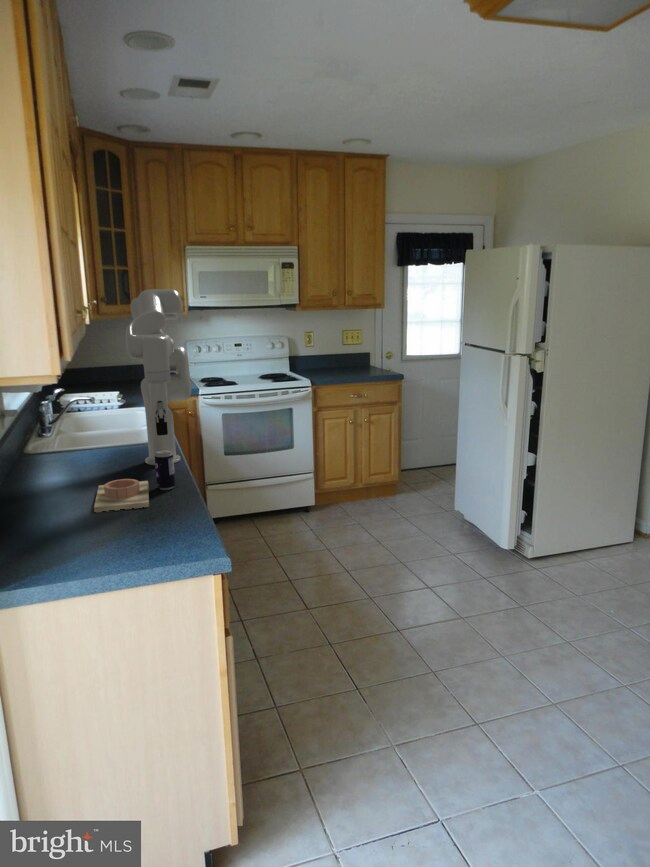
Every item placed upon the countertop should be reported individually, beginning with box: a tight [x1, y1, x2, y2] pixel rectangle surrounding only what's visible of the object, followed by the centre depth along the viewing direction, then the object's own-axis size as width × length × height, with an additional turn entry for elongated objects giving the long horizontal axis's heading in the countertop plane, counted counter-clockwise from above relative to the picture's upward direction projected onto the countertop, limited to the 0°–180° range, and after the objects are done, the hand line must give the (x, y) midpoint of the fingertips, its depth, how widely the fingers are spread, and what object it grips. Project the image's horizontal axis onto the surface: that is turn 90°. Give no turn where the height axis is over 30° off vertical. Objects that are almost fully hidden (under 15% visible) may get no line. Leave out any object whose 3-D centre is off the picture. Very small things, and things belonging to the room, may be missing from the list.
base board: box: [93, 480, 150, 513], centre depth 191 cm, size 22×15×2 cm
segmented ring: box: [103, 478, 140, 499], centre depth 191 cm, size 10×10×3 cm
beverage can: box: [154, 450, 176, 491], centre depth 199 cm, size 6×6×12 cm
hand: (162, 431), depth 196 cm, fingers open, 9 cm apart
